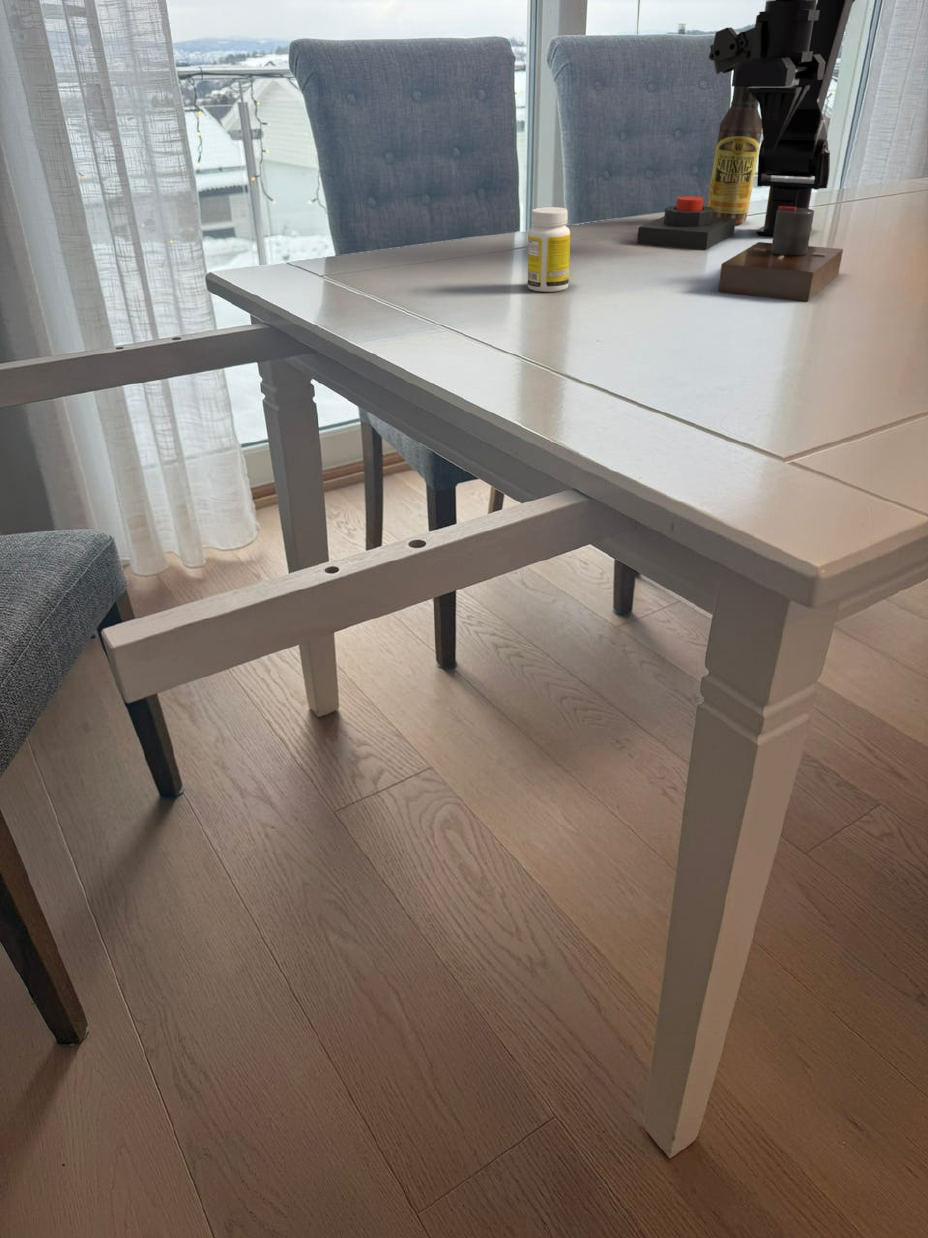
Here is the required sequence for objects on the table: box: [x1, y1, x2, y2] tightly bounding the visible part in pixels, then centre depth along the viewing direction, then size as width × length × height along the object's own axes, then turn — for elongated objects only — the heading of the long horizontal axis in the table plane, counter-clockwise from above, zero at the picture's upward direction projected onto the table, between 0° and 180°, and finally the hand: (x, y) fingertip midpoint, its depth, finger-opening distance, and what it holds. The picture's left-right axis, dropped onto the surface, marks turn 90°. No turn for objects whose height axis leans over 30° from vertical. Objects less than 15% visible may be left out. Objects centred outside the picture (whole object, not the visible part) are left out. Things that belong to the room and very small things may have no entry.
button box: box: [636, 205, 736, 251], centre depth 127 cm, size 12×10×4 cm
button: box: [675, 195, 705, 211], centre depth 125 cm, size 4×4×2 cm
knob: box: [771, 206, 815, 256], centre depth 103 cm, size 4×4×5 cm
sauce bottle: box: [706, 86, 763, 226], centre depth 133 cm, size 6×6×20 cm
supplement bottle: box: [527, 206, 571, 293], centre depth 103 cm, size 5×5×8 cm
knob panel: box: [717, 241, 844, 302], centre depth 104 cm, size 14×10×3 cm
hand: (769, 149), depth 114 cm, fingers closed
